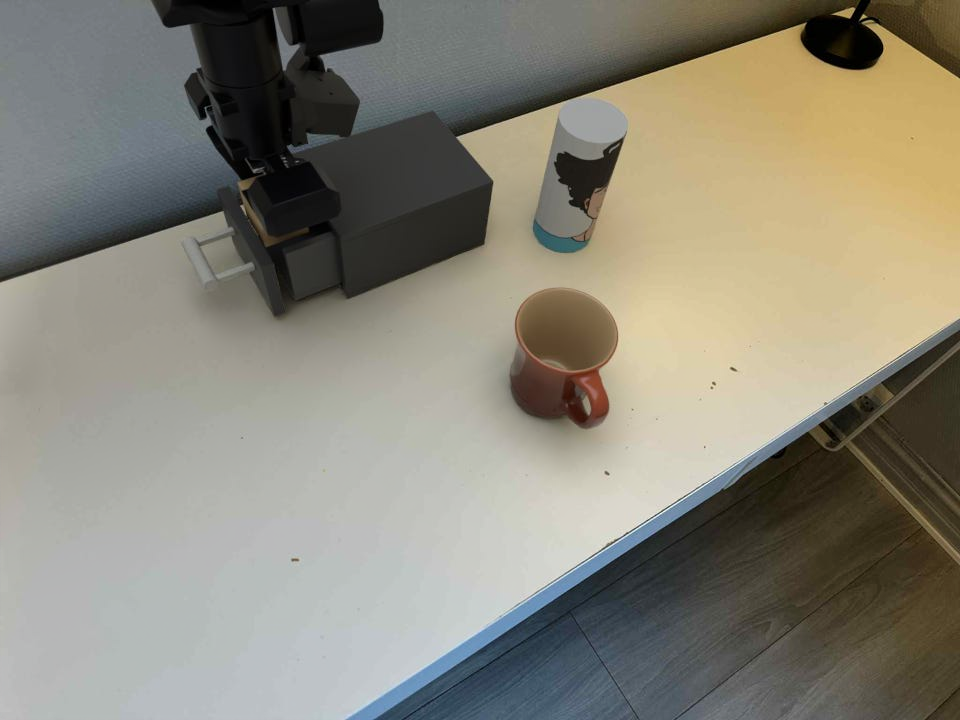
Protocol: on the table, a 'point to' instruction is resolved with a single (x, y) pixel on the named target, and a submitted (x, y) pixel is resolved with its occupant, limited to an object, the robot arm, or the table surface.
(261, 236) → the block
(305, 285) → the drawer
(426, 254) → the cabinet
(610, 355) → the mug
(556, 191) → the cup
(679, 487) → the table surface
